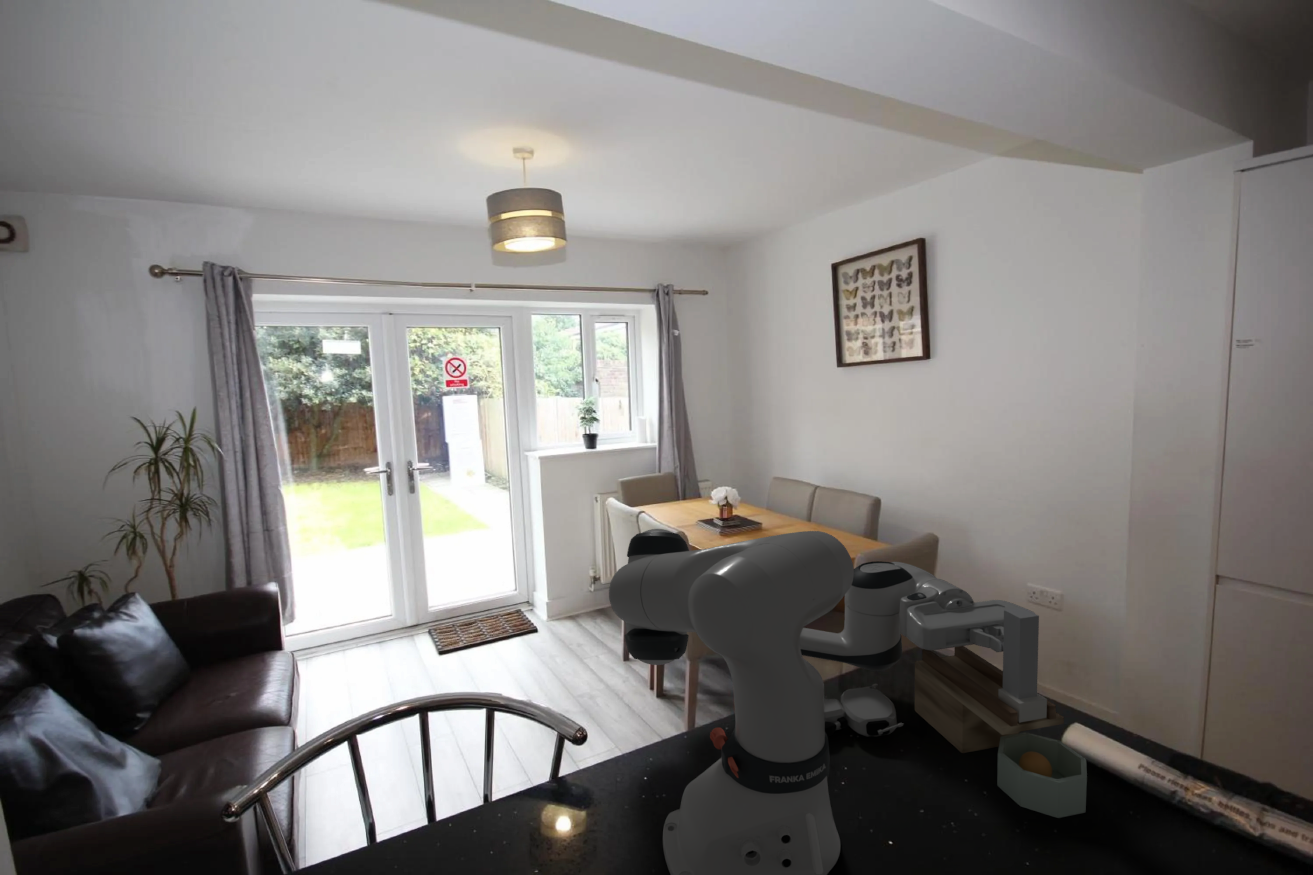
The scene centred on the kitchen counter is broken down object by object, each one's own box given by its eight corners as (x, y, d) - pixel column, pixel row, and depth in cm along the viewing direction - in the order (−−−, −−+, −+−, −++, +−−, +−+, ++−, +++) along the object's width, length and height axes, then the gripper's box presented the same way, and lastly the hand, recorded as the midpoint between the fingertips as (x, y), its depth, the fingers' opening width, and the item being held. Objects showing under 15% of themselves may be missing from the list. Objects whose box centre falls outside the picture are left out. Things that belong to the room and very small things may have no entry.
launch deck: (1001, 788, 85) (1002, 714, 84) (914, 710, 105) (914, 650, 103) (1062, 775, 87) (1064, 703, 86) (966, 702, 106) (966, 642, 105)
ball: (1030, 792, 84) (1037, 772, 82) (1009, 767, 87) (1016, 747, 86) (1054, 787, 85) (1062, 767, 83) (1033, 762, 88) (1040, 742, 87)
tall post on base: (1019, 722, 85) (1021, 621, 83) (998, 707, 89) (999, 610, 87) (1046, 717, 85) (1049, 617, 84) (1024, 702, 89) (1026, 606, 88)
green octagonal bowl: (1038, 822, 79) (1039, 786, 78) (982, 771, 89) (982, 739, 88) (1104, 808, 80) (1106, 773, 80) (1042, 760, 90) (1043, 728, 90)
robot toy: (813, 755, 96) (908, 746, 95) (810, 729, 95) (906, 719, 94) (797, 711, 108) (881, 703, 107) (794, 688, 107) (879, 679, 107)
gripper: (999, 620, 105) (1067, 657, 91) (891, 635, 101) (946, 676, 88) (1000, 585, 104) (1068, 617, 91) (891, 599, 100) (946, 634, 87)
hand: (1007, 646), depth 89 cm, fingers closed
